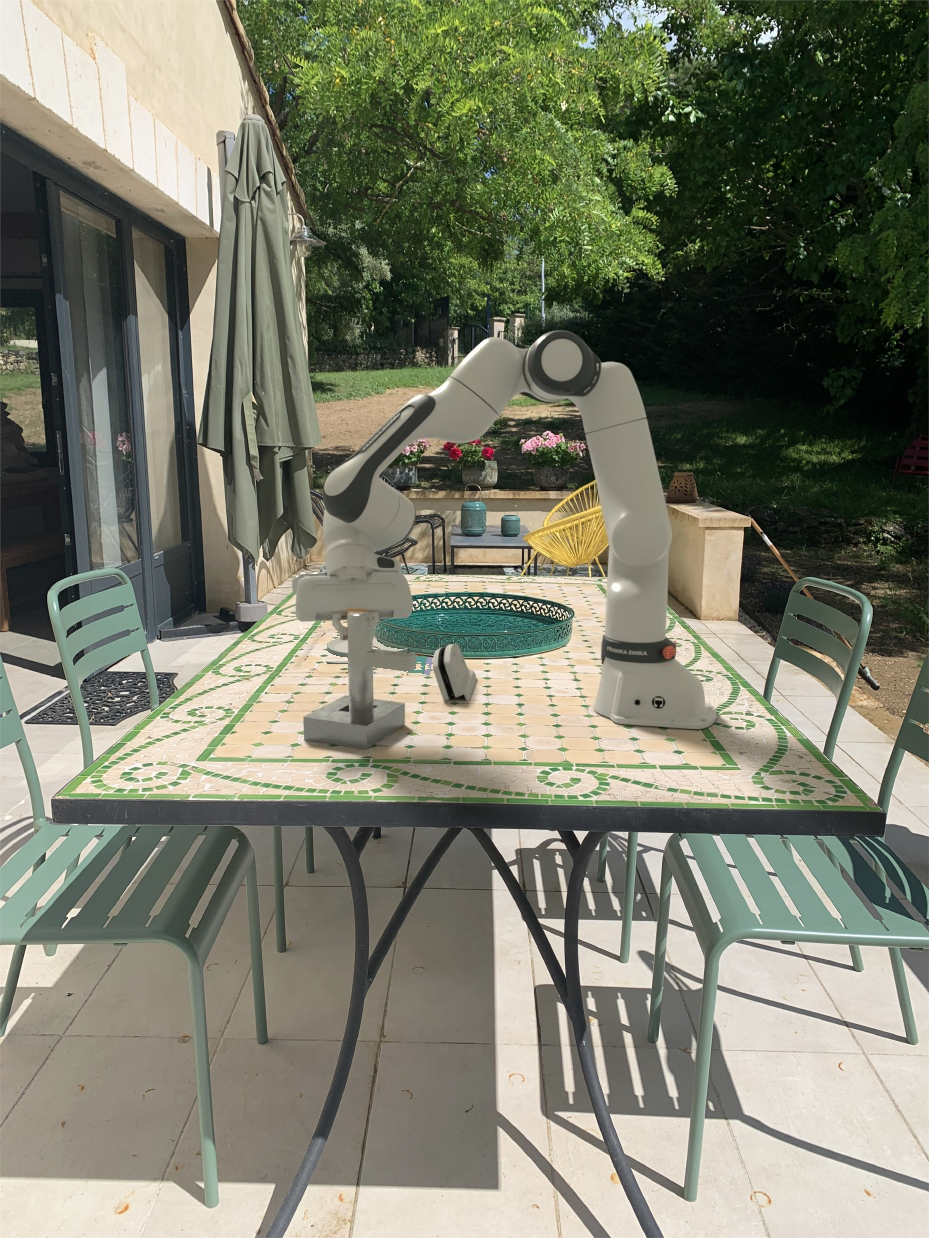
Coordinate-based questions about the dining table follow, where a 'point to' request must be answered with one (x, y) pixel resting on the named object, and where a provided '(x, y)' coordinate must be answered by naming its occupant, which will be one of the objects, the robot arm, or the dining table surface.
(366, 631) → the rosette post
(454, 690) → the grey rounded block
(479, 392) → the robot arm
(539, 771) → the dining table surface
